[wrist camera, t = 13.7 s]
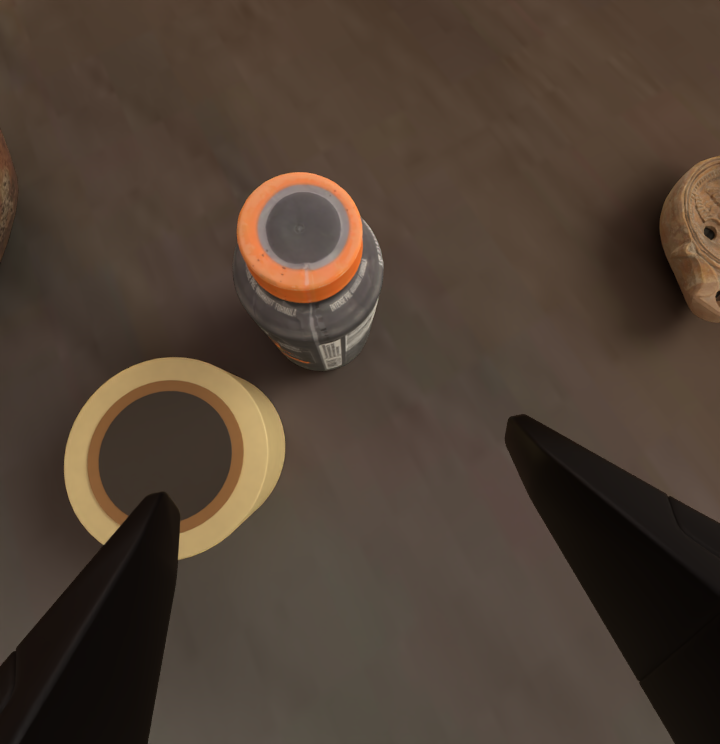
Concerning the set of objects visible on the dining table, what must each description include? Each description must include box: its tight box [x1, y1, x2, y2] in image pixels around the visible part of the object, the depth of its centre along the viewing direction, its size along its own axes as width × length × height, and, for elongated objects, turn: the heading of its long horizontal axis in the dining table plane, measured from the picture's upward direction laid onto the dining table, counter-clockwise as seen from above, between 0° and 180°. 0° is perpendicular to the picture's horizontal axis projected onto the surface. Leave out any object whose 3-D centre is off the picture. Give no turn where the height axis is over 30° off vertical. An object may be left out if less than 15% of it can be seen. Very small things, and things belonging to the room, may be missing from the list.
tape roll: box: [64, 357, 285, 560], centre depth 19 cm, size 9×9×5 cm
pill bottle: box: [233, 172, 383, 371], centre depth 17 cm, size 6×6×11 cm
